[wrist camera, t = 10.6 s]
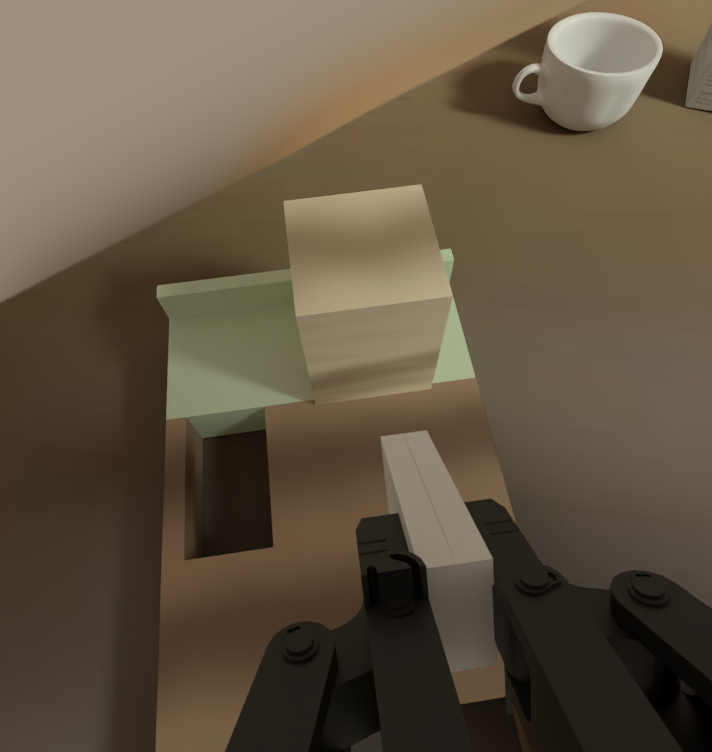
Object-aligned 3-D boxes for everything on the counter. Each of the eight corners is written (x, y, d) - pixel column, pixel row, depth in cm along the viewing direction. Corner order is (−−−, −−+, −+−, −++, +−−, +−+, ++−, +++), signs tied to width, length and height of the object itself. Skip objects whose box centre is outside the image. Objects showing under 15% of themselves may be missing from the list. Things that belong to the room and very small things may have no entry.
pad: (466, 401, 30) (482, 358, 25) (184, 440, 29) (151, 403, 25) (440, 302, 33) (450, 248, 29) (186, 335, 32) (157, 285, 28)
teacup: (603, 75, 43) (632, 4, 38) (646, 136, 40) (683, 66, 35) (487, 94, 43) (502, 24, 38) (520, 157, 39) (541, 89, 34)
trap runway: (594, 892, 20) (629, 928, 17) (177, 967, 19) (146, 1017, 17) (466, 401, 30) (475, 377, 27) (184, 440, 29) (166, 419, 26)
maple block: (431, 388, 27) (452, 296, 20) (315, 405, 27) (295, 316, 20) (409, 295, 30) (421, 184, 23) (304, 309, 29) (283, 201, 22)
